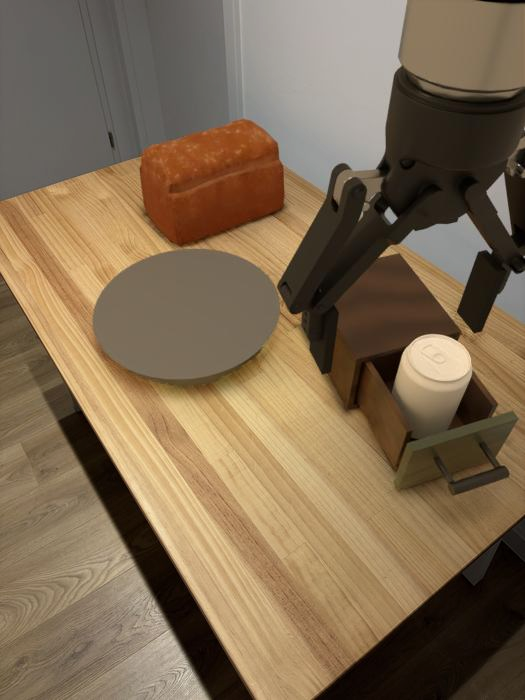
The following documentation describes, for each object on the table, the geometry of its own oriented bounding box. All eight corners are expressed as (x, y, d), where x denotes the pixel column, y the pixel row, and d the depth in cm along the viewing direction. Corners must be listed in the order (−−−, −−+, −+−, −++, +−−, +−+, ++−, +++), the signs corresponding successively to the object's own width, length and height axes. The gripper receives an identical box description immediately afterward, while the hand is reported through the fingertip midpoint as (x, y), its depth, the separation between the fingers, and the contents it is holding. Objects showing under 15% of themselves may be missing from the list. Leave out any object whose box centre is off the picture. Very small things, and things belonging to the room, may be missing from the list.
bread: (138, 206, 108) (124, 134, 97) (245, 170, 117) (243, 100, 106) (177, 252, 99) (165, 178, 88) (290, 210, 107) (293, 137, 96)
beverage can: (419, 454, 69) (442, 396, 60) (373, 411, 73) (388, 351, 64) (462, 421, 72) (490, 362, 63) (416, 382, 76) (436, 321, 67)
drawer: (517, 491, 66) (545, 452, 60) (417, 526, 64) (434, 489, 57) (431, 368, 79) (446, 325, 73) (344, 392, 77) (352, 350, 70)
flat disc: (314, 350, 83) (316, 329, 80) (141, 430, 74) (135, 411, 70) (227, 250, 99) (225, 229, 96) (75, 306, 90) (67, 285, 86)
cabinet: (441, 383, 79) (461, 331, 71) (346, 410, 76) (356, 359, 68) (387, 305, 89) (399, 252, 81) (302, 327, 86) (305, 274, 78)
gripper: (608, 20, 34) (500, 279, 50) (222, 76, 29) (237, 345, 45) (707, 66, 30) (554, 336, 46) (267, 142, 24) (267, 417, 40)
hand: (396, 341), depth 45 cm, fingers open, 13 cm apart
